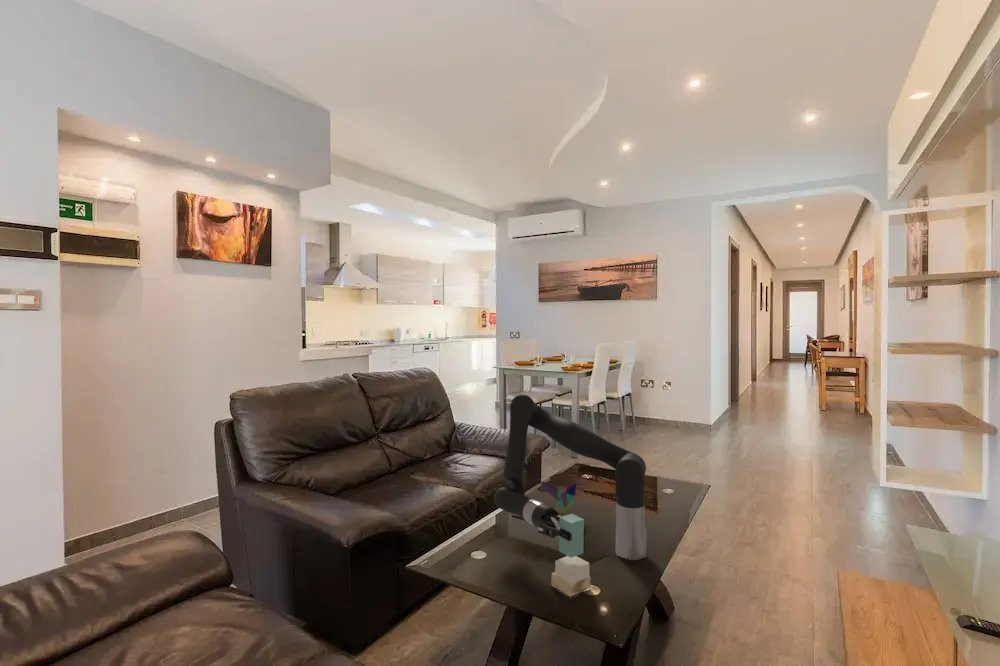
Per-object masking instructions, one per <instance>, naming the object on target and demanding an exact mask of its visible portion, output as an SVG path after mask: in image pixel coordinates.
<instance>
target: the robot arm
mask: <svg viewBox="0 0 1000 666" xmlns="http://www.w3.org/2000/svg"><path fill="white" fill-rule="evenodd" d="M529 427H532V428H534V429H535V430H538V431H540V432H542V433H543V434H545V436H548V437H549V438H551V439H552V440H553V441H554V442H557V443H558V444H559V445H561V446H562V447H564V448H566V449H567V450H569V451H571V452H573V453H575V454H577V455H579V456H582V457H586V458H589V459H594V460H596V461H598V462H599V461H600V462H603V463H605V464H606V465H608V466H610V467H611V468H613V469H614V470H615V471H614V473H615V475H614V476H615V478H614V479H615V482H614V483H615V485H614V486H615V490H614V491H615V492H614V493H615V494H614V495H615V498H616V499H615V554H616V556H618V557H619V556H620V557H619V558H621V557H622V558H621V559H623V558H625V559H624V560H627V559H629V560H628V561H639V560H642V559H643V558H644V559H645V558H647V528H646V527H645V509H646V507H645V505H646V502H645V475H646V471H647V465H646V462H645V460H644V459H643V458H642V457H641V456H640V455H638V454H637V453H634V452H633V451H630V450H627V449H626V448H625V449H624V448H623V447H621V446H618V445H615V443H614V444H613V443H611V442H610V441H608V440H606V439H605V438H603V437H602V436H600V435H598V434H596V433H595V432H593V431H591V430H589V429H588V428H586V427H584V426H582V425H580V424H579V423H577V422H575V421H572V420H570V419H567V418H565V417H561V416H557V415H555V414H552V413H551V412H548V410H546V409H544V408H542V407H541V406H539V405H538V404H536V402H535V401H534V399H532V398H531V396H529V395H527V394H523V393H522V394H518V395H516V396H515V397H513V398H512V399H511V402H510V404H509V436H508V441H507V449H506V453H505V459H504V467H503V471H502V472H503V475H502V476H503V479H504V480H506V481H507V482H509V485H510V487H505V486H504V487H500V488H498V489H497V490H496V491H495V493H494V496H493V499H494V503H495V505H496V506H497V508H498V509H500V510H503V511H505V512H508V513H510V514H514V515H516V516H518V517H519V518H521V519H522V520H524V521H526V522H527V523H528V524H530V525H531V526H533V527H535V528H537V533H538V534H540V535H544V536H546V537H549V538H552V539H555V538H557V537H558V538H559V537H562V538H564V539H566V540H568V541H571V540H572V534H571V533H570V532H568V531H566V530H564V529H561V527H559V524H560V517H562V515H560V514H558V512H557V511H556V509H554V508H555V507H552V506H550V505H548V504H546V503H544V502H542V501H540V500H537V499H534V498H532V497H531V496H528V495H526V493H525V482H524V473H525V466H526V457H527V435H528V431H529ZM586 535H587V529H586V528H585V527H584V537H586Z"/></svg>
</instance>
